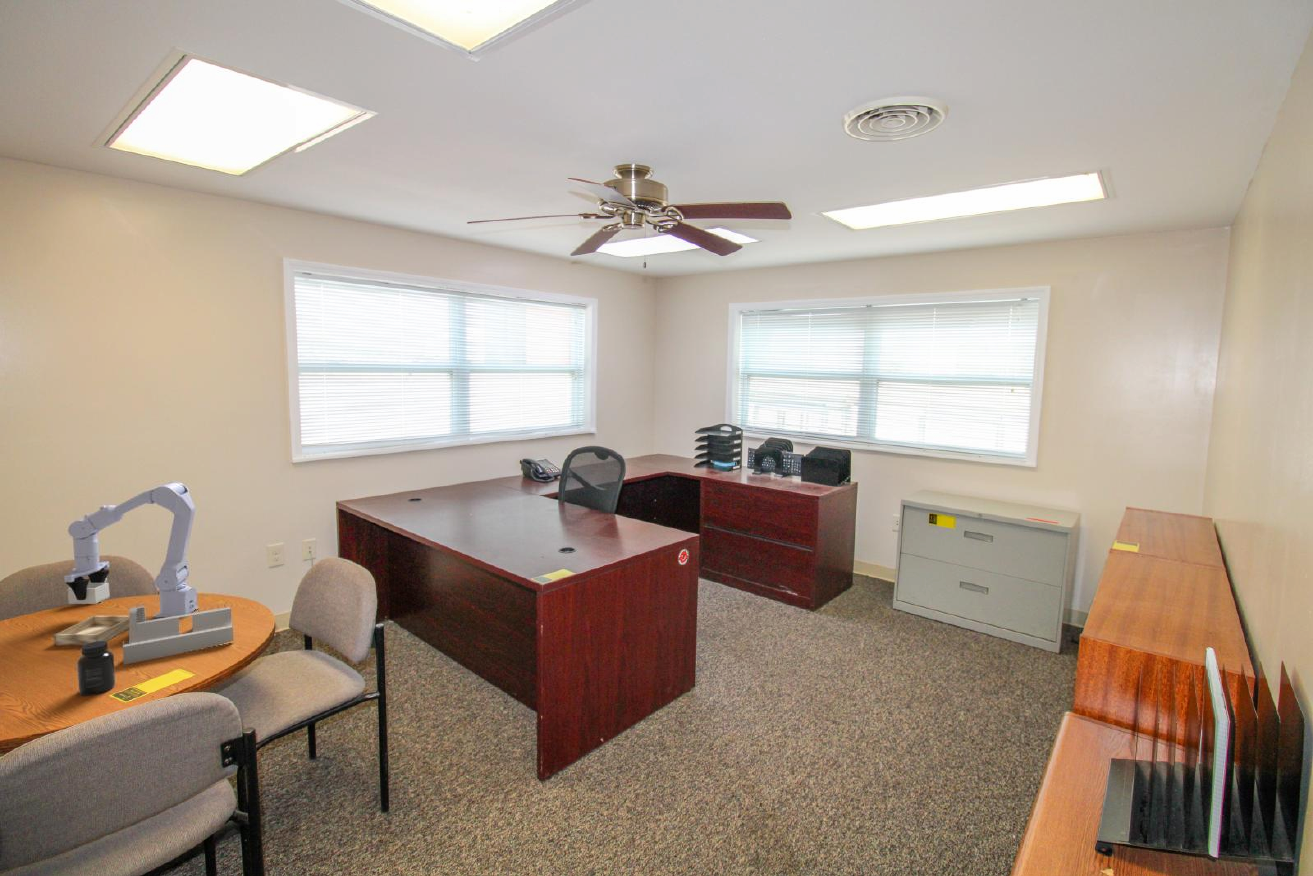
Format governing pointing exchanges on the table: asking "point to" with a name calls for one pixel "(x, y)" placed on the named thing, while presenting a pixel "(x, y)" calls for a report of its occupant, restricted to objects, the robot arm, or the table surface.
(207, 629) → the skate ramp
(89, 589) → the small crate
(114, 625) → the shallow wooden tray
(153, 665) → the table surface
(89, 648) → the supplement bottle
